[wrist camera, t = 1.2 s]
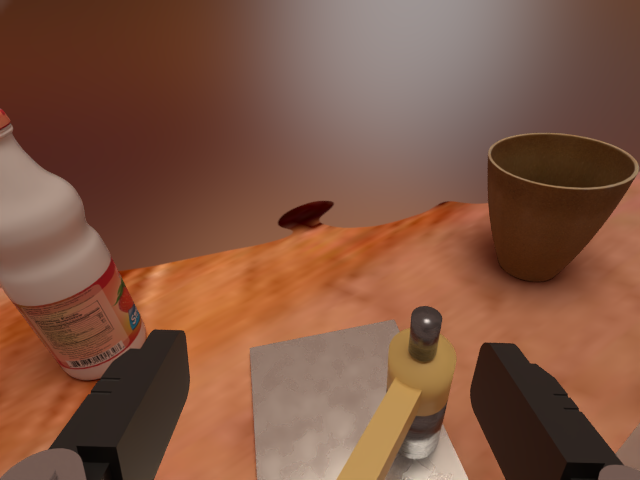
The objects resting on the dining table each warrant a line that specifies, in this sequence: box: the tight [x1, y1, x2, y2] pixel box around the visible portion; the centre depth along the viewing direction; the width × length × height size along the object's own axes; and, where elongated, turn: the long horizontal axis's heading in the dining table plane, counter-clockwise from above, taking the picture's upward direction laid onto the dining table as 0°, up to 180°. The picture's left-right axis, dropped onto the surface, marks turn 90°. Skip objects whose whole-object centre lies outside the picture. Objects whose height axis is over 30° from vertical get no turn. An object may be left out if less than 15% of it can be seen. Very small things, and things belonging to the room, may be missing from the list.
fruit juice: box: [0, 109, 146, 380], centre depth 38 cm, size 9×9×28 cm
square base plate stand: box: [250, 306, 468, 480], centre depth 31 cm, size 17×24×16 cm
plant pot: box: [488, 133, 639, 282], centre depth 49 cm, size 15×15×16 cm
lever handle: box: [336, 328, 456, 480], centre depth 25 cm, size 19×5×4 cm, turn 146°
